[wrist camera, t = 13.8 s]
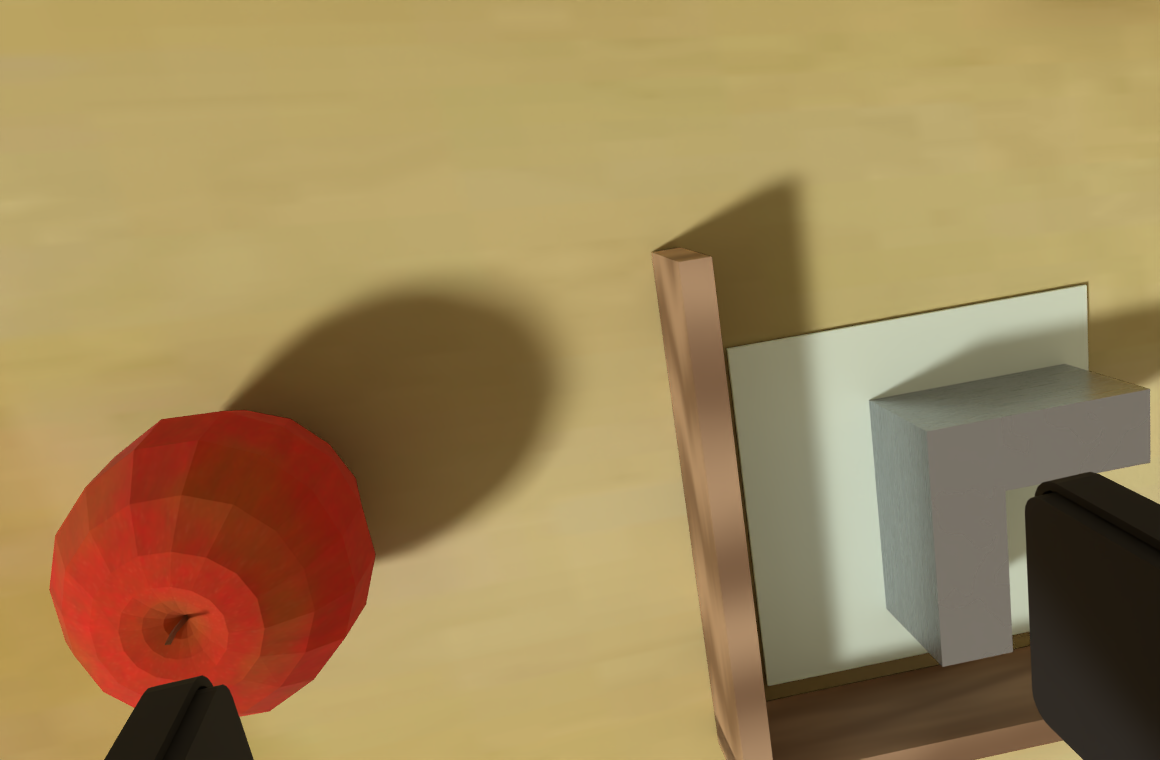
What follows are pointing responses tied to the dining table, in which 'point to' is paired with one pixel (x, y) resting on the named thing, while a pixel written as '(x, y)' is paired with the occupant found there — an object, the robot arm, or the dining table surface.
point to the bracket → (984, 488)
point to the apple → (214, 560)
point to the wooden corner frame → (713, 501)
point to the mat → (864, 464)
